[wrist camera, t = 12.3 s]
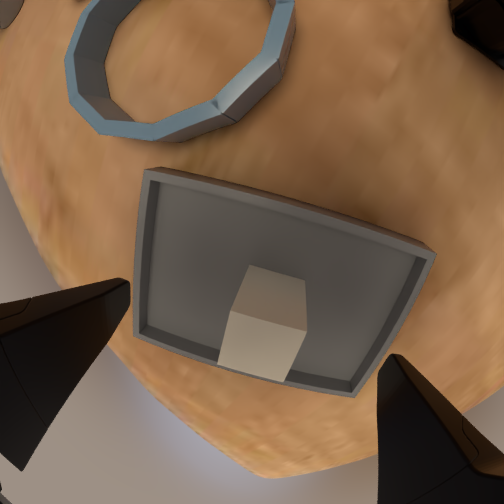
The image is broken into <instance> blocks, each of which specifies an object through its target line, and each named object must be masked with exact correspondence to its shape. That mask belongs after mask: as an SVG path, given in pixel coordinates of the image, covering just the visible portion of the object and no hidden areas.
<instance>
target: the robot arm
mask: <svg viewBox="0 0 504 504" xmlns="http://www.w3.org/2000/svg"><path fill="white" fill-rule="evenodd" d="M450 5H451V12H452V19H453V32H454V33H455V34H456V35H457V36H458V37H460V38H461V39H463V40H464V41H466V42H467V43H469V44H470V45H472V46H473V47H475V48H476V49H477V50H479V51H480V52H482V53H483V54H484V55H486V56H487V57H488V58H489V59H491V60H492V61H493V62H495V63H496V64H497V65H498V66H500V67H501V68H502V69H503V70H504V0H450ZM458 31H459V32H458ZM129 306H130V282H129V281H128V280H125V279H122V278H114V279H110V280H105V281H101V282H96V283H92V284H88V285H83V286H79V287H74V288H70V289H66V290H61V291H57V292H53V293H49V294H44V295H40V296H35V297H32V298H27V299H23V300H18V301H13V302H8V303H1V304H0V453H1V454H2V455H3V456H4V457H5V458H6V459H7V460H9V461H10V462H11V463H12V464H13V465H14V466H15V467H17V468H18V469H19V470H20V471H23V470H24V468H25V466H26V465H27V463H28V461H29V459H30V458H31V456H32V454H33V453H34V451H35V449H36V448H37V446H38V444H39V443H40V441H41V439H42V438H43V436H44V435H45V433H46V431H47V430H48V428H49V426H50V425H51V423H52V422H53V420H54V418H55V417H56V415H57V414H58V412H59V410H60V409H61V408H62V406H63V405H64V403H65V402H66V400H67V399H68V397H69V396H70V394H71V393H72V391H73V390H74V388H75V387H76V385H77V384H78V383H79V381H80V380H81V378H82V377H83V376H84V374H85V373H86V371H87V370H88V369H89V367H90V366H91V364H92V363H93V362H94V360H95V359H96V358H97V356H98V355H99V353H100V352H101V351H102V349H103V348H104V347H105V345H106V344H107V343H108V341H109V340H110V338H111V337H112V335H113V333H114V332H115V330H116V328H117V326H118V325H119V323H120V321H121V320H122V318H123V316H124V315H125V313H126V311H127V310H128V308H129ZM377 429H378V464H379V465H378V501H377V504H504V454H503V453H502V452H501V451H500V450H499V449H498V448H497V447H496V446H494V445H493V444H492V443H491V442H490V441H489V440H488V439H487V438H486V437H484V436H483V435H482V434H481V433H480V432H479V431H478V430H477V429H476V428H475V427H474V426H473V425H472V424H471V423H470V422H469V421H468V420H467V419H466V418H465V417H464V416H462V414H461V413H460V412H459V411H458V410H457V409H456V408H455V407H454V406H453V405H452V404H451V403H450V402H449V401H448V400H447V399H446V398H445V397H444V396H443V395H442V394H441V393H440V392H439V391H438V390H437V389H436V388H435V387H434V386H433V385H432V384H431V383H430V382H429V381H428V380H427V379H426V378H425V377H424V376H423V375H422V374H421V373H420V372H419V371H418V370H417V369H416V368H415V367H414V366H413V365H412V364H411V363H409V362H408V361H407V360H406V359H405V358H404V357H403V356H402V355H399V354H390V355H389V356H388V358H387V359H386V361H385V362H384V364H383V365H382V367H381V368H380V370H379V372H378V377H377ZM1 490H2V487H1V483H0V492H1ZM0 504H12V503H11V502H9V501H8V500H7V499H6V498H5V497H4V496H3V495H2V494H1V493H0Z"/></svg>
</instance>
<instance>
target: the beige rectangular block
mask: <svg viewBox="0 0 504 504" xmlns="http://www.w3.org/2000/svg"><path fill="white" fill-rule="evenodd" d="M306 333H307V311H306V288H305V280H302V279H298V278H295V277H291V276H287V275H284V274H280V273H277V272H273V271H270V270H266V269H263V268H259V267H256V266H252V265H249V267H248V269H247V272H246V274H245V277H244V279H243V281H242V284H241V286H240V289H239V291H238V293H237V296H236V298H235V300H234V303H233V305H232V308H231V310H230V314H229V318H228V322H227V326H226V330H225V334H224V338H223V342H222V346H221V350H220V354H219V358H218V363H217V365H221V366H224V367H227V368H231V369H234V370H237V371H241V372H244V373H248V374H252V375H255V376H259V377H263V378H267V379H271V380H275V381H279V382H284V380H285V378H286V376H287V374H288V372H289V370H290V368H291V366H292V363H293V361H294V359H295V357H296V355H297V353H298V351H299V349H300V347H301V344H302V342H303V340H304V338H305V336H306Z"/></svg>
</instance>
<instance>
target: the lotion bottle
mask: <svg viewBox="0 0 504 504" xmlns="http://www.w3.org/2000/svg"><path fill="white" fill-rule="evenodd" d="M22 4H23V0H0V28H6V27H7V26H9V25H10V23H11V22H12V21H13V20H14V18H15V17H16V15H17V14H18V12H19V10H20V8H21V6H22Z"/></svg>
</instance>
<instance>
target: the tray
mask: <svg viewBox="0 0 504 504" xmlns="http://www.w3.org/2000/svg"><path fill="white" fill-rule="evenodd" d="M436 255H437V254H436V253H435V252H434V251H433V250H432V249H430V248H429V247H428V246H427V245H425V244H424V243H423V242H421V241H418V240H415V239H413V238H410V237H408V236H405V235H402V234H399V233H397V232H394V231H391V230H388V229H386V228H383V227H380V226H377V225H374V224H371V223H368V222H365V221H362V220H359V219H356V218H353V217H350V216H347V215H344V214H341V213H338V212H335V211H332V210H329V209H325V208H322V207H319V206H316V205H312V204H309V203H306V202H302V201H299V200H295V199H292V198H288V197H285V196H281V195H278V194H274V193H270V192H267V191H263V190H259V189H255V188H252V187H248V186H244V185H240V184H236V183H232V182H228V181H224V180H219V179H215V178H211V177H207V176H202V175H198V174H193V173H189V172H184V171H179V170H175V169H170V168H165V167H156V168H149V169H144V174H143V180H142V187H141V194H140V202H139V211H138V220H137V230H136V242H135V257H134V277H133V336H134V337H136V338H139V339H141V340H144V341H146V342H148V343H151V344H153V345H156V346H158V347H161V348H164V349H166V350H169V351H172V352H174V353H177V354H180V355H182V356H185V357H188V358H191V359H194V360H197V361H200V362H203V363H206V364H209V365H212V366H215V367H218V368H222V369H225V370H228V371H232V372H235V373H239V374H242V375H246V376H249V377H253V378H257V379H261V380H265V381H269V382H273V383H277V384H281V385H286V386H290V387H295V388H300V389H305V390H310V391H315V392H320V393H326V394H332V395H338V396H345V397H352V398H355V397H356V395H357V394H358V393H359V391H360V390H361V389H362V387H363V386H364V384H365V383H366V382H367V380H368V379H369V377H370V376H371V374H372V373H373V371H374V370H375V369H376V367H377V366H378V364H379V362H380V361H381V359H382V358H383V356H384V355H385V353H386V352H387V350H388V348H389V347H390V345H391V343H392V342H393V340H394V338H395V337H396V335H397V333H398V332H399V330H400V328H401V326H402V325H403V323H404V321H405V319H406V317H407V316H408V314H409V312H410V310H411V308H412V306H413V304H414V302H415V300H416V298H417V296H418V294H419V292H420V290H421V288H422V286H423V284H424V282H425V280H426V278H427V275H428V273H429V271H430V269H431V267H432V264H433V262H434V260H435V257H436ZM249 265H252V266H256V267H259V268H263V269H266V270H270V271H273V272H277V273H280V274H284V275H287V276H291V277H295V278H298V279H302V280H305V288H306V311H307V333H306V336H305V338H304V340H303V342H302V344H301V347H300V349H299V351H298V353H297V355H296V357H295V359H294V361H293V363H292V366H291V368H290V370H289V372H288V374H287V376H286V378H285V380H284V382H279V381H275V380H271V379H267V378H263V377H259V376H255V375H252V374H248V373H244V372H241V371H237V370H234V369H231V368H227V367H224V366H221V365H217V363H218V358H219V354H220V350H221V346H222V342H223V338H224V334H225V330H226V326H227V322H228V318H229V314H230V310H231V308H232V305H233V303H234V300H235V298H236V296H237V293H238V291H239V289H240V286H241V284H242V281H243V279H244V277H245V274H246V272H247V269H248V267H249Z"/></svg>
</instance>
